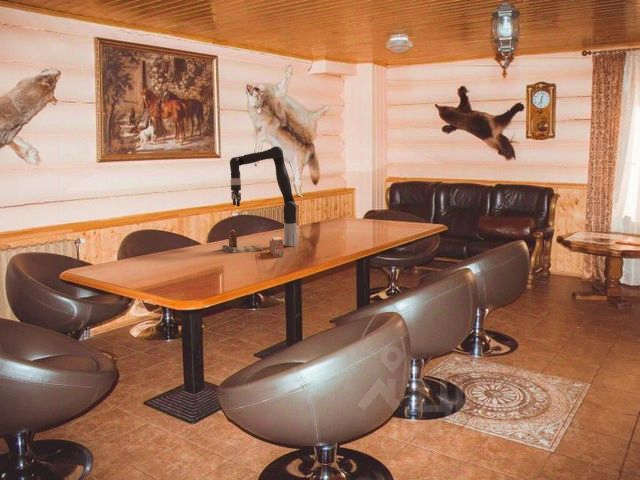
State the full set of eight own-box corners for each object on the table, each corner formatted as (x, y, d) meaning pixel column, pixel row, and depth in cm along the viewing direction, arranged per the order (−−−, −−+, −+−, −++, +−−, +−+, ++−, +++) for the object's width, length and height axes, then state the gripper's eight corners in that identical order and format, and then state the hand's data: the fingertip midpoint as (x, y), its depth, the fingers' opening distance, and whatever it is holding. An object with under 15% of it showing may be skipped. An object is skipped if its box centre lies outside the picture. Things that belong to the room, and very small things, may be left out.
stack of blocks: (269, 251, 436) (269, 234, 434) (278, 251, 437) (278, 234, 435) (274, 257, 415) (274, 239, 413) (283, 257, 417) (283, 239, 415)
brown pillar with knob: (234, 248, 448) (234, 229, 446) (237, 249, 445) (236, 230, 442) (229, 249, 446) (228, 229, 444) (231, 250, 442) (230, 230, 440)
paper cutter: (254, 246, 457) (254, 242, 456) (262, 250, 442) (262, 246, 441) (222, 249, 445) (222, 245, 445) (229, 253, 430) (229, 248, 430)
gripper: (243, 184, 450) (244, 206, 453) (237, 183, 462) (237, 204, 465) (234, 185, 446) (234, 207, 449) (227, 183, 459) (228, 205, 462)
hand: (236, 205), depth 457 cm, fingers open, 8 cm apart
